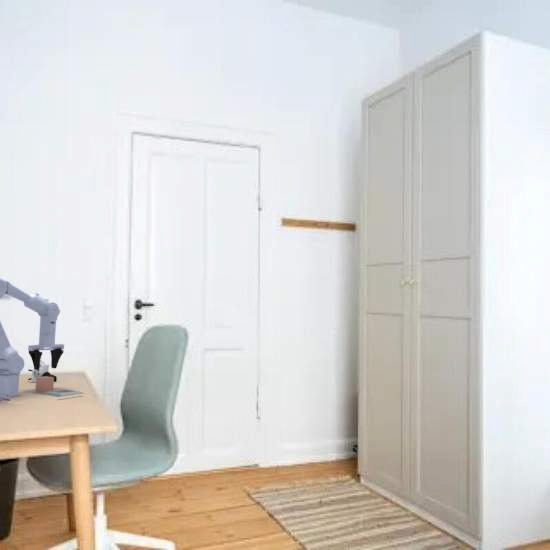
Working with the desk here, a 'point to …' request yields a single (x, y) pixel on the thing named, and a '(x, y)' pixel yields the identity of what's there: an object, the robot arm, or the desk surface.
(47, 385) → the block
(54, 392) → the locating frame
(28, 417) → the desk surface
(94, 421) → the desk surface
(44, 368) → the toy
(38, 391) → the board
